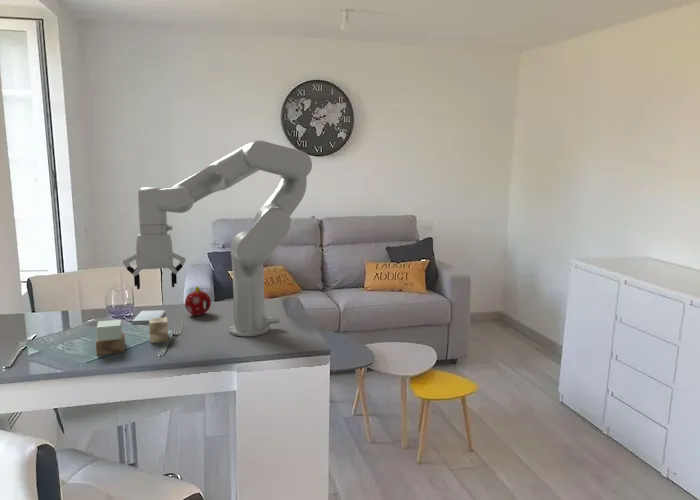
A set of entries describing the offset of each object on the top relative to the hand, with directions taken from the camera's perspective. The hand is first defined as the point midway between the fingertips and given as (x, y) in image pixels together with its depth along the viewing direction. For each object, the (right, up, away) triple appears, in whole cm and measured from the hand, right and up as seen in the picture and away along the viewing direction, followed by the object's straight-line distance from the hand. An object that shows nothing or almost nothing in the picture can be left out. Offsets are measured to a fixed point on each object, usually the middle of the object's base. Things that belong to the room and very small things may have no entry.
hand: (156, 287), depth 161 cm
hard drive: (-11, -13, +24) cm, 29 cm away
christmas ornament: (+5, -12, +28) cm, 31 cm away
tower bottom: (-10, -18, -6) cm, 21 cm away
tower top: (-11, -14, -7) cm, 19 cm away
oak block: (0, -16, +3) cm, 16 cm away
